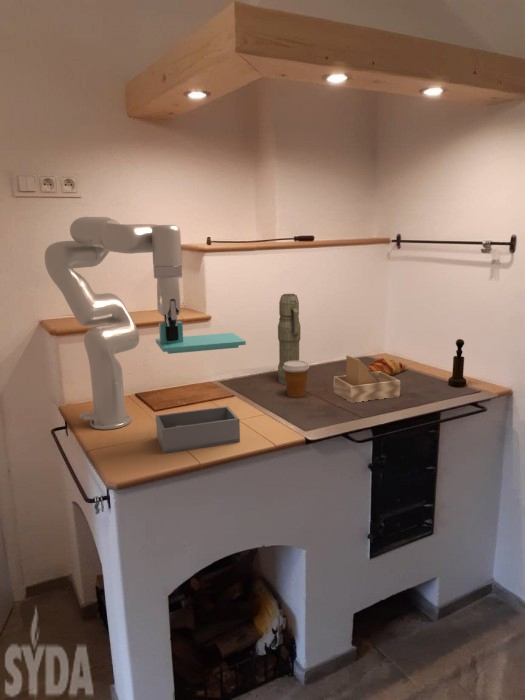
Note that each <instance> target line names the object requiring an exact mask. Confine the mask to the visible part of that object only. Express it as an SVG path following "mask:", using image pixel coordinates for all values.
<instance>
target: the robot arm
mask: <svg viewBox="0 0 525 700" xmlns="http://www.w3.org/2000/svg"><path fill="white" fill-rule="evenodd" d="M69 233H70V237H71V238H72V239H73V240H64V241H63V240H62V241H56V242H54V243H51V244H50V245H48V246H47V248H46V249H45V252H44V265H45V269H46V271H47V274H48V275H49V277H50V279H51V280H52V281H53V283H54V284H55V285H56V287H57V288H58V289H59V290H60V292H61V293H62V295H63V297H64V299H65V301H66V303H67V305H68V307H69V309H70V311H71V312H72V314H73V317H74V318H75V319H76V321H77V322H78V324H80V325H81V326H82V327H91V328H90V329H88V330H87V331H86V333H84V337H83V344H84V348H85V352H86V354H87V357H88V358H87V359H88V364H89V372H90V380H91V391H92V401H93V408H92V411H89V412H87V413H86V412H83V413H79V414H78V415H79V416H78V417H79V420H82V421H83V422H87V421H89V425H90V427H91V428H93V429H96V430H113V429H115V430H116V429H119V428H122V427H124V426H128V425H129V424H130V423H131V422H132V416H131V415H129V414H127V413H126V404H125V403H126V402H125V390H124V376H123V368H122V365H121V363H120V362H119V360H118V359H117V357H116V355H117V354H120V353H124V352H128V351H130V350H133V349H135V348H136V347H137V346H138V345H139V343H140V333H139V329H138V327H137V325H136V324H135V322H134V320H133V318H132V316H131V314H130V312H129V311H128V309H127V307H126V305H125V304H124V302H123V301H122V299H121V298H120V297H118V296H117V295H116V294H114V293H110V292H107V293H106V292H104V293H99V294H98V293H96V292H95V291H94V290H93V289H92V287H91V285H90V283H89V282H88V280H87V279H86V278H85V277H83V275H82V274H80V273H78V272H77V271H76V270H74V269H80V268H83V269H84V268H93V267H96V266H98V265H100V264H101V263H102V262H103V261H104V260H105V258H106V257H107V256H108V254H109V253H110V252H113V253H120V254H127V255H129V254H130V255H131V254H142V253H143V254H145V253H152V265H153V267H152V268H153V278H154V279H156V281H157V282H156V294H157V295H156V298H157V299H156V301H157V305H156V306H157V312H158V313H159V314H160V315H161V316H163V322H167V326H166V340H167V341H177V340H178V326H177V321H178V316H179V315H180V314H181V295H180V293H181V291H180V281H179V280H180V279H181V278H183V267H182V266H183V265H182V264H183V263H182V262H183V261H182V245H181V244H182V240H181V239H182V238H181V230H180V227H179V226H178V225H176V224H151V223H150V224H149V223H148V224H144V223H142V224H139V223H138V224H136V223H135V224H133V223H131V224H121V223H120V222H119V221H118V220H116V219H113V218H111V217H107V216H81V217H79V218H78V217H77V218H76V219H74V220H73V222H72V223H71V224H70V226H69ZM92 326H93V327H92Z"/></svg>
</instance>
